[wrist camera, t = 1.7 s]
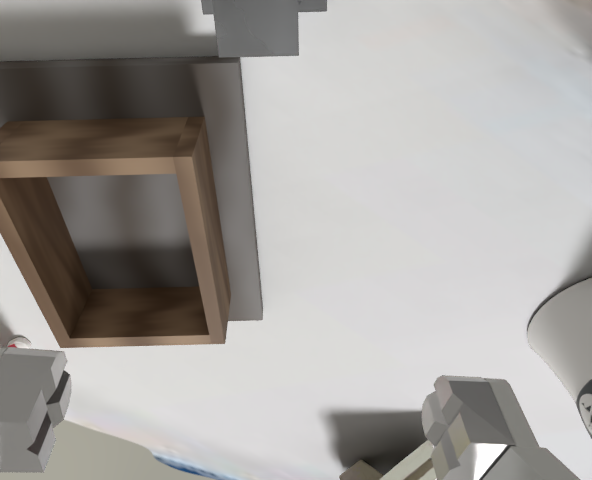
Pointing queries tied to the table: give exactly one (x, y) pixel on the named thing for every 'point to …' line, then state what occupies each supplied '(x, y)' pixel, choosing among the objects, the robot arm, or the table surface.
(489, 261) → the table surface
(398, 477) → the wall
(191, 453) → the table surface
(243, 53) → the metal bracket
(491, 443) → the robot arm
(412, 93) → the table surface
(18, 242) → the well box
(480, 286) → the table surface
